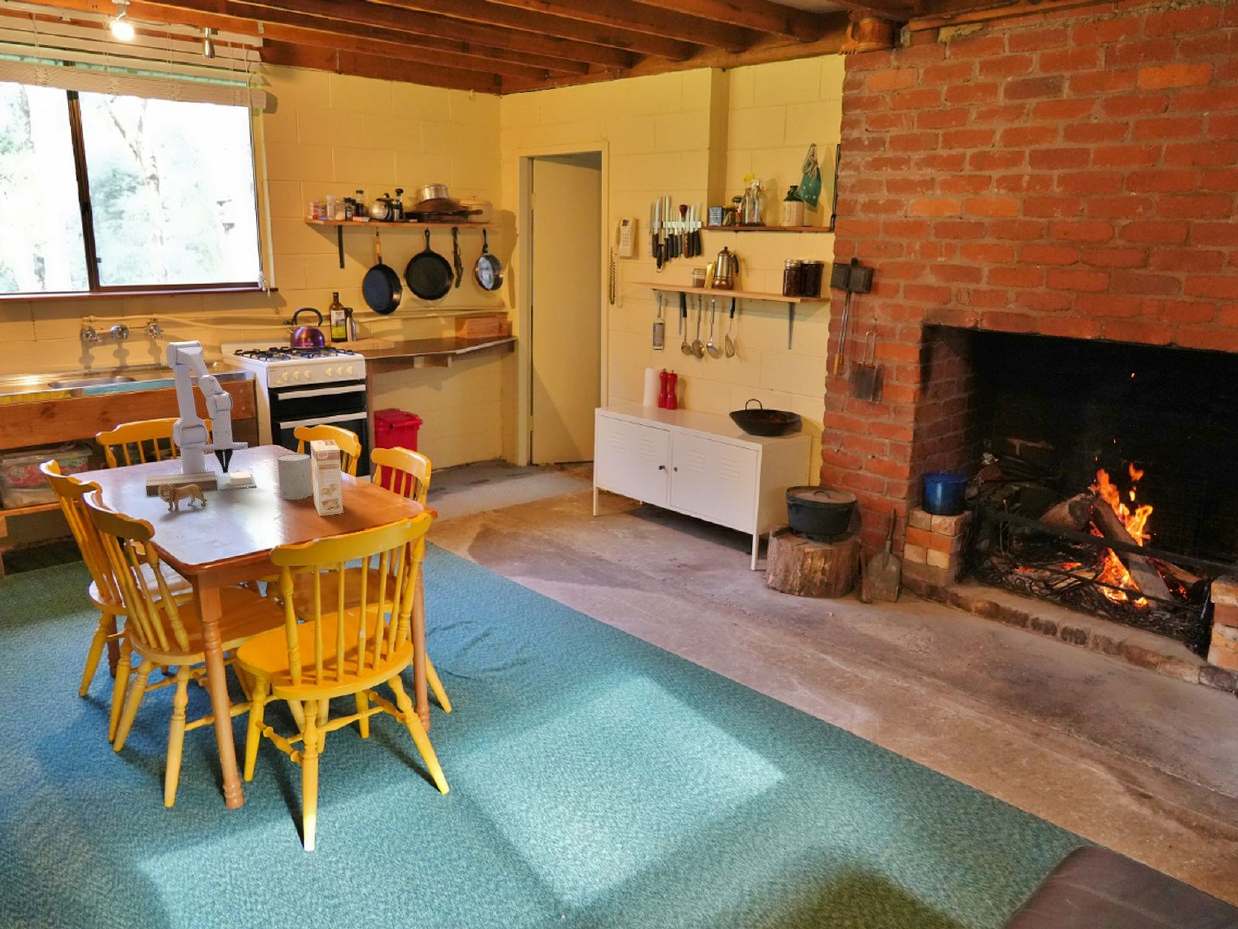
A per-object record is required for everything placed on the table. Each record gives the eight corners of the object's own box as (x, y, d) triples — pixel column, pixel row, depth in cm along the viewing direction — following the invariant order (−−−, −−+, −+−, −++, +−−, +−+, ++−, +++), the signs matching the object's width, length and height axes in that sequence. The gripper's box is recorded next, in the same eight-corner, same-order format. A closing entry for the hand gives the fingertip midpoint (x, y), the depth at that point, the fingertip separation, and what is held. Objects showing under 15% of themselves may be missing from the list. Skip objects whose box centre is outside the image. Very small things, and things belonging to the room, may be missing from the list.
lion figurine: (166, 515, 268) (163, 485, 265) (155, 512, 270) (152, 482, 268) (212, 504, 280) (209, 475, 277) (201, 501, 282) (198, 472, 280)
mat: (216, 478, 308) (216, 476, 308) (252, 475, 312) (252, 473, 312) (219, 490, 294) (219, 489, 294) (256, 487, 298) (256, 485, 298)
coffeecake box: (344, 514, 273) (340, 449, 268) (318, 516, 270) (314, 451, 265) (337, 500, 286) (334, 438, 281) (313, 503, 283) (309, 440, 278)
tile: (248, 471, 308) (249, 477, 308) (229, 472, 305) (229, 478, 306) (250, 477, 301) (251, 483, 301) (230, 478, 298) (231, 484, 299)
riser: (147, 485, 297) (146, 476, 297) (215, 479, 306) (214, 471, 305) (146, 495, 287) (145, 486, 286) (217, 489, 295) (216, 480, 295)
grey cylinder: (275, 494, 291) (273, 455, 288) (306, 489, 297) (303, 452, 294) (285, 501, 284) (283, 462, 281) (316, 496, 290) (314, 458, 287)
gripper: (197, 435, 291) (201, 477, 294) (247, 431, 297) (250, 473, 300) (196, 430, 297) (200, 471, 300) (245, 427, 303) (248, 468, 307)
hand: (225, 472), depth 301 cm, fingers closed
